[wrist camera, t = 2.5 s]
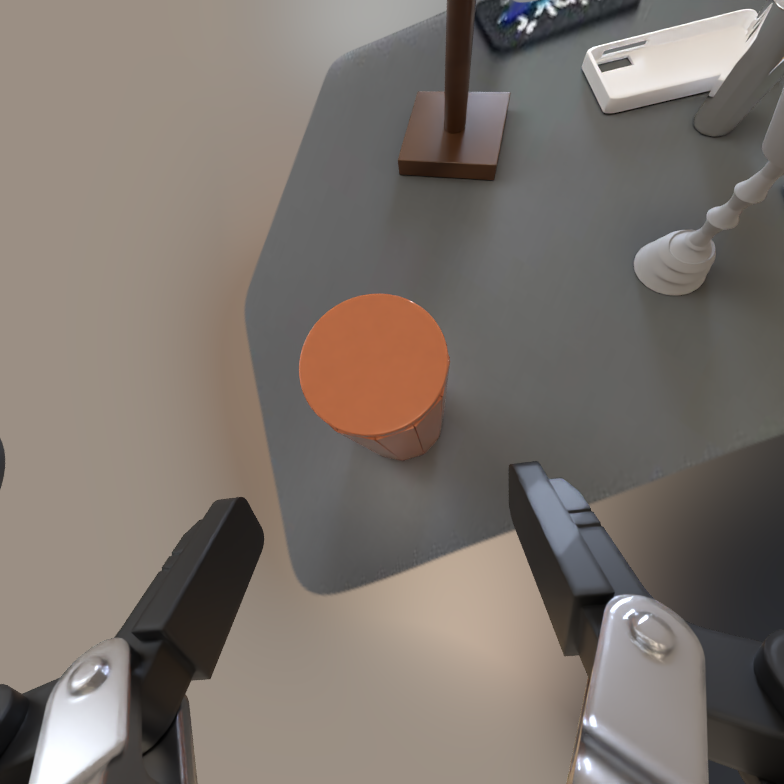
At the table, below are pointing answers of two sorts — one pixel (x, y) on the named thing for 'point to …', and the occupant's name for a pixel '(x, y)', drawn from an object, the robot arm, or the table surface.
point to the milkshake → (746, 73)
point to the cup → (378, 374)
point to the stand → (455, 114)
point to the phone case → (667, 62)
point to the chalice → (709, 226)
